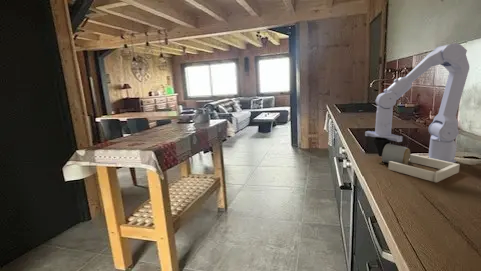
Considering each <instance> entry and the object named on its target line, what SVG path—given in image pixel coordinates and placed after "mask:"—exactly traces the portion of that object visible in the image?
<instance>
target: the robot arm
mask: <svg viewBox="0 0 481 271" xmlns="http://www.w3.org/2000/svg"><path fill="white" fill-rule="evenodd" d="M467 52H468V50H467V49H466V48H465V47H464V46H463V45H461V44H460V43H459V42H458V43H457V42H453V43H450V44H445V45H439V46H437V47H435V48H434V49H433V50H432V51H431V52H429V53H428V54H427V55H426V56H425V57H424V58H423V59H422V60H421V61H420V62H418V64H417V65H416V66H415V67H413V69H411V71H409V72H408V74H406V75H405V76H400V77H399V78H395V79H394V80H393V83H392V84H391V85H389V86H388V87H387V88H385V89H383V92H381V93H379V94H378V95H377V96H376V99H375V100H374V102H375V104H376V114H375V125H374V126H375V130H374V131H373V130H372V131H371V130H367V131H365V132H364V136H365V137H371V138H373V142H374V144H375V146H376V149H377V154H378V155H377V156H379V157H382V153H383V149H384V147H385V145H386V144H388V143H389V144H391V142H392V141H394V142H396V143H401V142H403V136H402V135H398V134H393V133H392V126H393V114H394V112H393V108H394V106H396V104H397V100H399V99H400V98H401V97H402V96H404V94H406V93H407V92H408V91H409V90H410V89H412V87H413V86H412V85H413V83H414V81H416V80H417V79H418V78H419V77H421V76H422V75H424V74H425V72H427V71H428V70H430V69H431V68H432V67H435V66H438V65H441V66H443V67H444V69H446V70H447V71H448V77H447V80H446V84H445V87H444V91H443V94H442V98H441V102H440V107H439V109H438V112H437V113H438V114H436V115H435V116H434V117H433V120H432V122H430V124H429V126H428V132H429V134H430V139H429V147H428V148H429V149H428V156H429V158H433V159H438V160H442V161H447V162H452V163H456V162H458V161H456V160H457V159H456V153H457V143H456V141H455V140H456V139H457V137H458V136H459V134H460V132H459V128H458V126H459V121H458V119H457V113H458V109H459V106H460V103H461V99H462V96H463V92H464V88H465V84H466V81H467V78H468V75H469V72H470V64H469V59H468V56H467ZM454 158H455V160H454Z"/></svg>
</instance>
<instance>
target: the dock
mask: <svg viewBox="0 0 481 271" xmlns="http://www.w3.org/2000/svg"><path fill="white" fill-rule="evenodd" d="M409 163H414V164H418V165H423V166H426V167H431V168H433V169H434V168H435V169H438V170H436V171H433V170H428V169H425V168H421V167H418V166H417V167H416V166H412V165H408V164H407V165H405V164H401V163H397V162H393V161H389V163H388V166H387V168H388V169H387V170H390V171H394V172H398V173H400V174H404V175H409V176H411V177H415V178H419V179H422V180H425V181H430V182H432V183H439V182H440V181H443V180H445V179H447V178H449V177H451V176H453V175H455V174H458V173H459V172H460V163H456V162H454V163H452V162H447V161H442V160H438V159H433V158H428V156H423V155H418V154H413V153H410V159H409Z"/></svg>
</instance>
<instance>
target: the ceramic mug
mask: <svg viewBox="0 0 481 271" xmlns="http://www.w3.org/2000/svg"><path fill="white" fill-rule="evenodd" d="M410 155H411V149H410V148H408V147H406V146H401V145H398V144H393V143H390V144H389V143H388V144H386V145H385V147H384V149H383V153H382V156H381V161H382V162H383V163H386V164H389V161H393V162H397V163H401V164H405V165H408V163H410Z"/></svg>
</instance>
